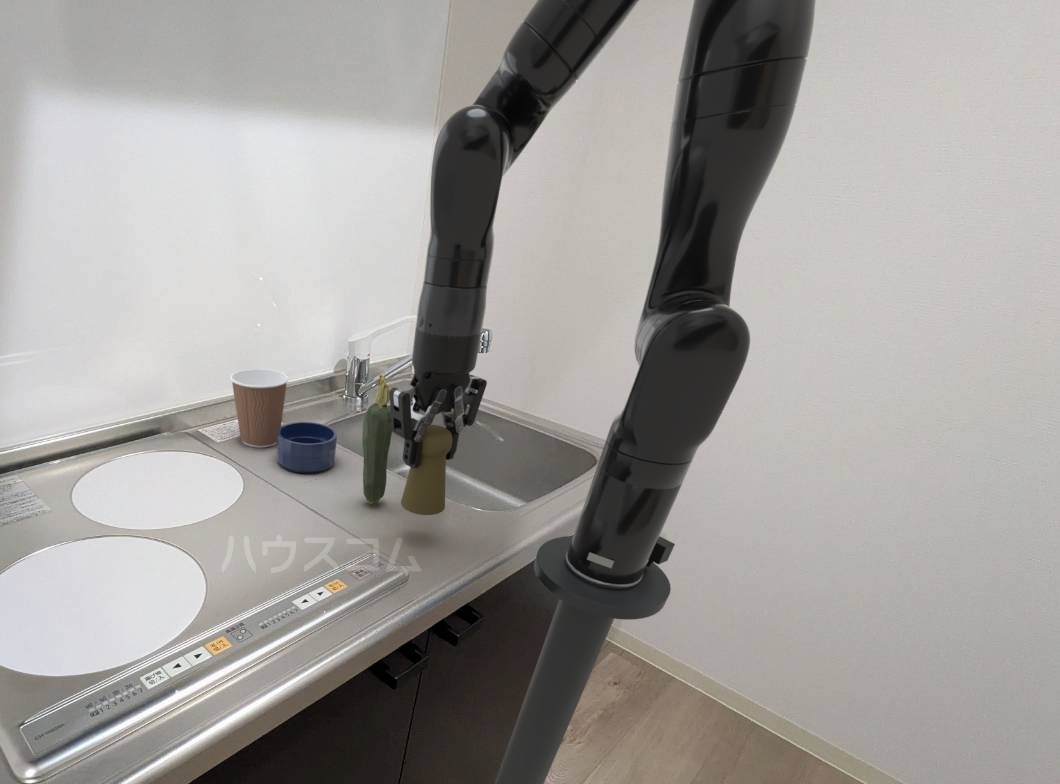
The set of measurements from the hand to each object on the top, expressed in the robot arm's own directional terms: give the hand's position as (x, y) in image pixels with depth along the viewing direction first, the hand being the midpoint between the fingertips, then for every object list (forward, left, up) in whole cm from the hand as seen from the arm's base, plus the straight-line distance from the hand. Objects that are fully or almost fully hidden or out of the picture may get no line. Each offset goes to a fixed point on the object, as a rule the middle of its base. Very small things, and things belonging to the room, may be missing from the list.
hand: (429, 461), depth 76 cm
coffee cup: (+4, -41, -12) cm, 43 cm away
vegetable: (0, -11, -12) cm, 17 cm away
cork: (0, 0, -7) cm, 7 cm away
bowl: (+1, -29, -12) cm, 32 cm away
